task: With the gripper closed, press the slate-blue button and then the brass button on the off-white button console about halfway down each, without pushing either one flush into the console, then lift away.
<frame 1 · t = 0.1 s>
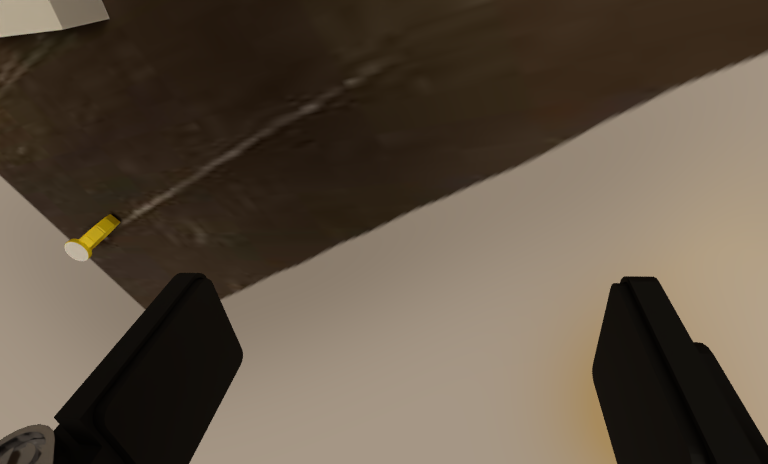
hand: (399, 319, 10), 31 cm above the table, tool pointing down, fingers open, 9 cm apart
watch: (111, 223, 53), on the table
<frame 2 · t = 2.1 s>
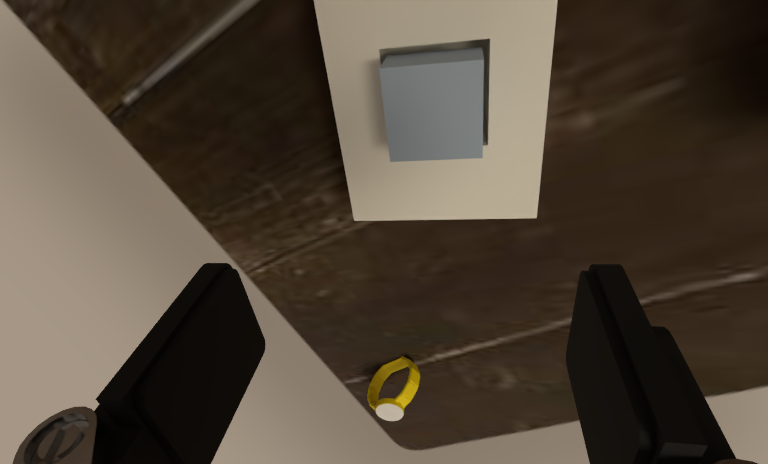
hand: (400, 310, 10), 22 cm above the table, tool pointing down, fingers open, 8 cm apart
slate-blue button: (434, 106, 23), point 7 cm above the table, slide at 0.0 cm
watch: (396, 362, 46), on the table
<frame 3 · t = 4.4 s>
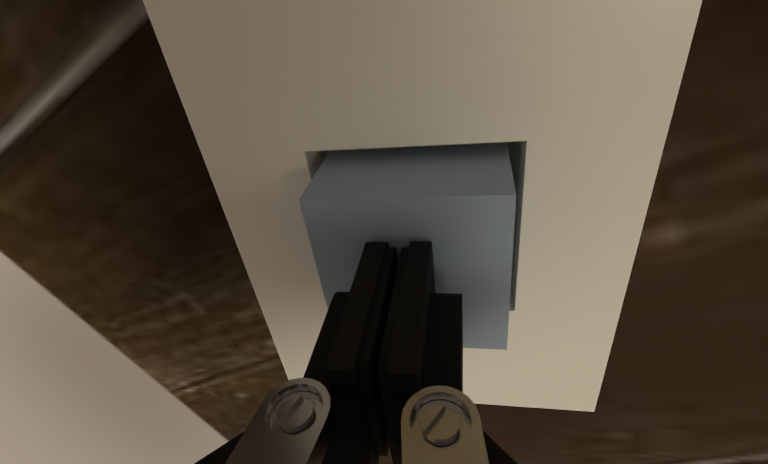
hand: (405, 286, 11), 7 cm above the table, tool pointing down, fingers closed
slate-blue button: (416, 248, 12), point 6 cm above the table, slide at 0.7 cm, touching gripper
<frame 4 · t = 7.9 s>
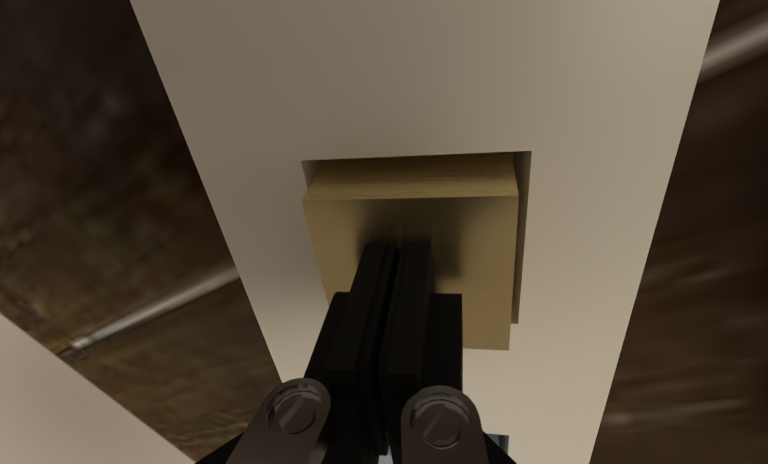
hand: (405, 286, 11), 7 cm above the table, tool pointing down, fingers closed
slate-blue button: (438, 457, 19), point 5 cm above the table, slide at 1.6 cm
button console: (439, 281, 20), on the table
brass button: (418, 249, 12), point 6 cm above the table, slide at 1.2 cm, touching gripper
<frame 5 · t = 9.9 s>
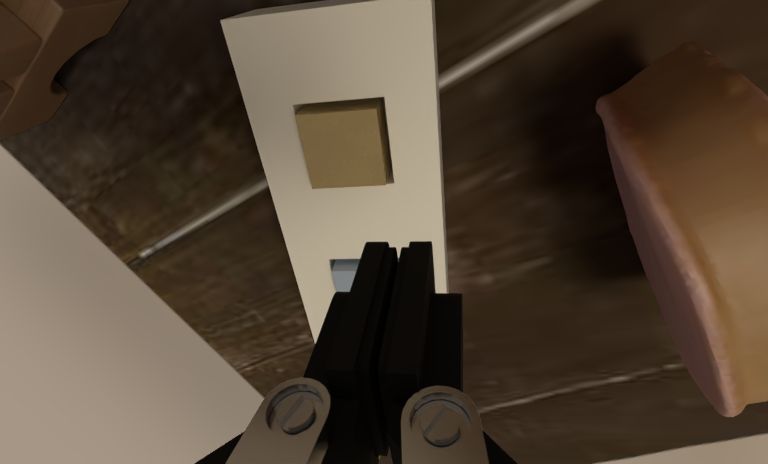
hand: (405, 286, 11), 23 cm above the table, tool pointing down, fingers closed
slate-blue button: (371, 284, 34), point 5 cm above the table, slide at 1.6 cm
button console: (370, 188, 35), on the table
brass button: (346, 143, 28), point 5 cm above the table, slide at 1.6 cm
face sculpture: (644, 173, 32), on the table
wooden toy: (45, 36, 32), on the table
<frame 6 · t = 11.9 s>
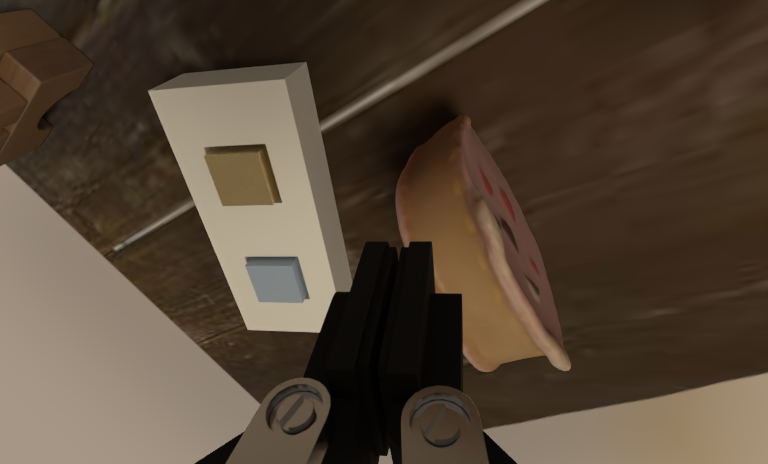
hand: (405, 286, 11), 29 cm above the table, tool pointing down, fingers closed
slate-blue button: (279, 276, 45), point 5 cm above the table, slide at 1.6 cm
button console: (282, 202, 46), on the table
brass button: (245, 173, 39), point 5 cm above the table, slide at 1.6 cm
face sculpture: (481, 196, 42), on the table
wooden toy: (34, 86, 43), on the table
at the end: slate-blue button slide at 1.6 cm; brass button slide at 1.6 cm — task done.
